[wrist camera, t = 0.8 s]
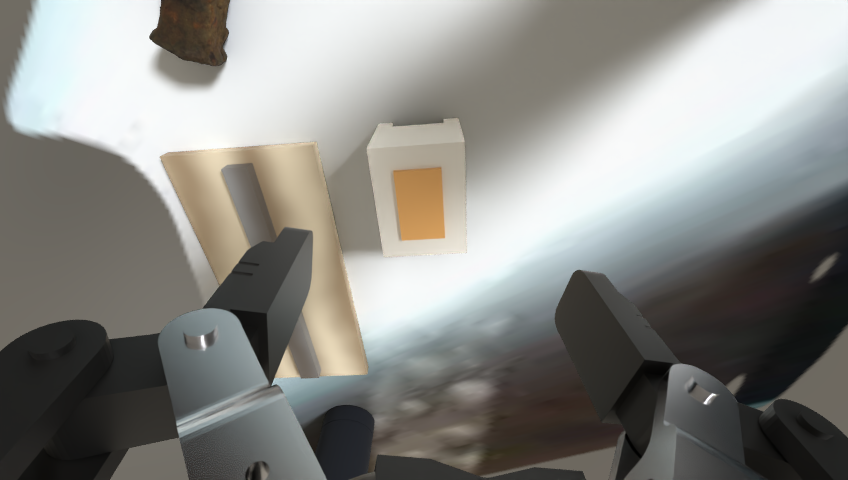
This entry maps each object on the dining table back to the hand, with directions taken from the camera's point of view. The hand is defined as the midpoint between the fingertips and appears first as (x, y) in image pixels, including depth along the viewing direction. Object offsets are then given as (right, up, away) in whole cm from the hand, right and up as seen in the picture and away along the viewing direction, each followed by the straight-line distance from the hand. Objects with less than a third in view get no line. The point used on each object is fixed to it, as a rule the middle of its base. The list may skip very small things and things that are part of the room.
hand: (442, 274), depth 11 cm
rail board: (-14, -3, +24) cm, 28 cm away
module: (-1, +7, +18) cm, 19 cm away
